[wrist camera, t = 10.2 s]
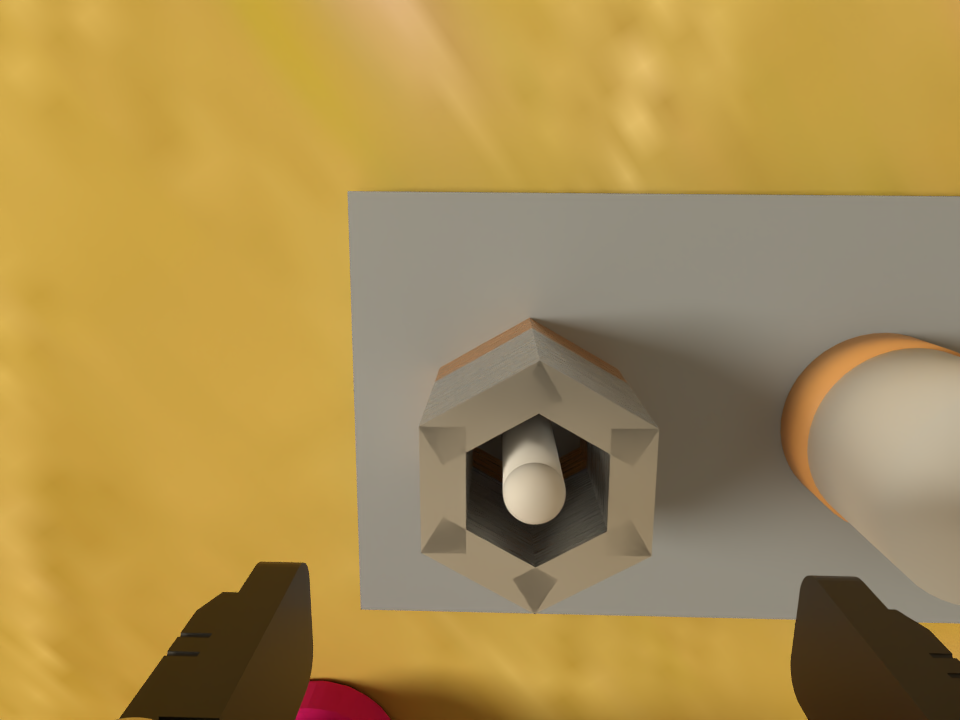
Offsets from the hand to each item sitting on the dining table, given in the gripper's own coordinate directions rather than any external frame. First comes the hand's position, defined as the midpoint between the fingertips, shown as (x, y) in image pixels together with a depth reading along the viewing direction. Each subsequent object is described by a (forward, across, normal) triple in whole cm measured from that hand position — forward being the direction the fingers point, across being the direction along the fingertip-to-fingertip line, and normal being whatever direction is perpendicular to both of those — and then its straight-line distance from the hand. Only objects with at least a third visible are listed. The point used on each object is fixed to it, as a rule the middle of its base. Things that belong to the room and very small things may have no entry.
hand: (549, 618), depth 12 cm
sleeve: (+12, 0, 0) cm, 12 cm away
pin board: (+13, -6, 0) cm, 14 cm away
